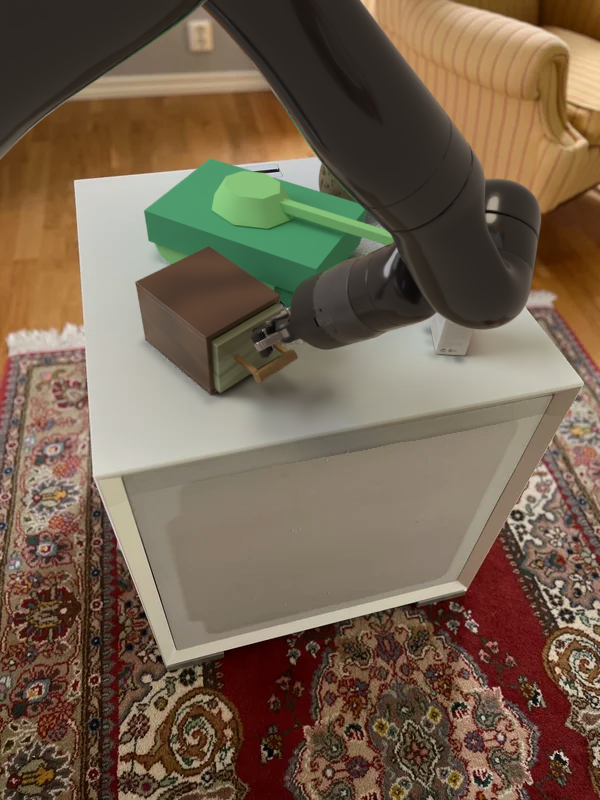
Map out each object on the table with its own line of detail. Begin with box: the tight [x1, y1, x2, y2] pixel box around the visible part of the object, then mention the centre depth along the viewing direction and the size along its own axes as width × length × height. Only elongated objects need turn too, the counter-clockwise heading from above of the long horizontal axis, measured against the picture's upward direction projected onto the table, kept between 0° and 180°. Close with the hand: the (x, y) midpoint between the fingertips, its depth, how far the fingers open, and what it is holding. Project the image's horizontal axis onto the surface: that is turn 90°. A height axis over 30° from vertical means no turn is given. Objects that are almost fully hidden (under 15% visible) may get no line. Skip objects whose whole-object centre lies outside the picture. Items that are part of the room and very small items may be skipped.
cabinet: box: [134, 246, 281, 396], centre depth 81 cm, size 14×12×10 cm
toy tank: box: [143, 158, 394, 308], centre depth 93 cm, size 18×12×35 cm
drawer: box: [211, 303, 299, 394], centre depth 79 cm, size 17×10×8 cm, turn 45°
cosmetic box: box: [430, 313, 475, 356], centre depth 83 cm, size 6×4×12 cm
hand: (260, 335), depth 74 cm, fingers closed
